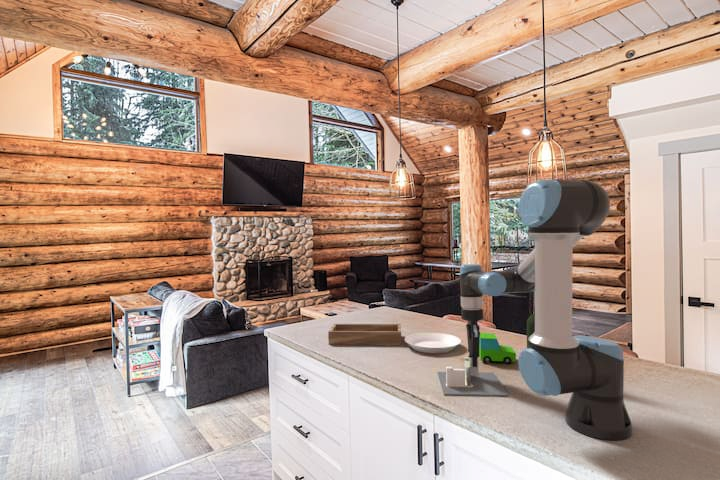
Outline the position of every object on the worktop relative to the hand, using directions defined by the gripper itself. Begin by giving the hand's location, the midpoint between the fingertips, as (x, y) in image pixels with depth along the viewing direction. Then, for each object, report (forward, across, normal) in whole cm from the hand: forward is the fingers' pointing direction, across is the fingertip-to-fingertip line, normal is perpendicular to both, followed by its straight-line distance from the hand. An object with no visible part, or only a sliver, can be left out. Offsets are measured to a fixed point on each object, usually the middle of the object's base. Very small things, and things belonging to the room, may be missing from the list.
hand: (474, 375), depth 140 cm
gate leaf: (+1, -1, +3) cm, 3 cm away
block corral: (-1, +50, +42) cm, 65 cm away
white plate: (+1, +39, +11) cm, 40 cm away
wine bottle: (+2, +6, -24) cm, 24 cm away
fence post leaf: (+2, -7, +7) cm, 10 cm away
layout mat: (+2, -4, +2) cm, 5 cm away
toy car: (+2, +21, -13) cm, 24 cm away
